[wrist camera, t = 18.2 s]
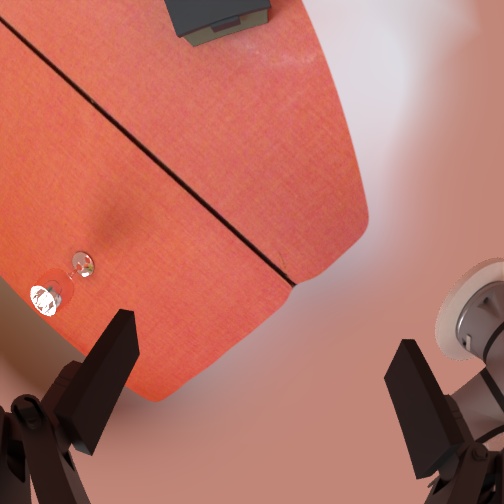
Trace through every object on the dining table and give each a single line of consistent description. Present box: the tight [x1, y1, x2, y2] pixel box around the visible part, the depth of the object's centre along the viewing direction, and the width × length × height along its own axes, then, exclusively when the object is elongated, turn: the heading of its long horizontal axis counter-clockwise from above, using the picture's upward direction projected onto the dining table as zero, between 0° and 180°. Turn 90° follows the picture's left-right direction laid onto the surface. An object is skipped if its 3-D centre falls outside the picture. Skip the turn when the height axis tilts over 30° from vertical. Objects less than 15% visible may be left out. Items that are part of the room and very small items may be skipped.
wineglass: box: [31, 252, 94, 315], centre depth 40 cm, size 6×6×12 cm
